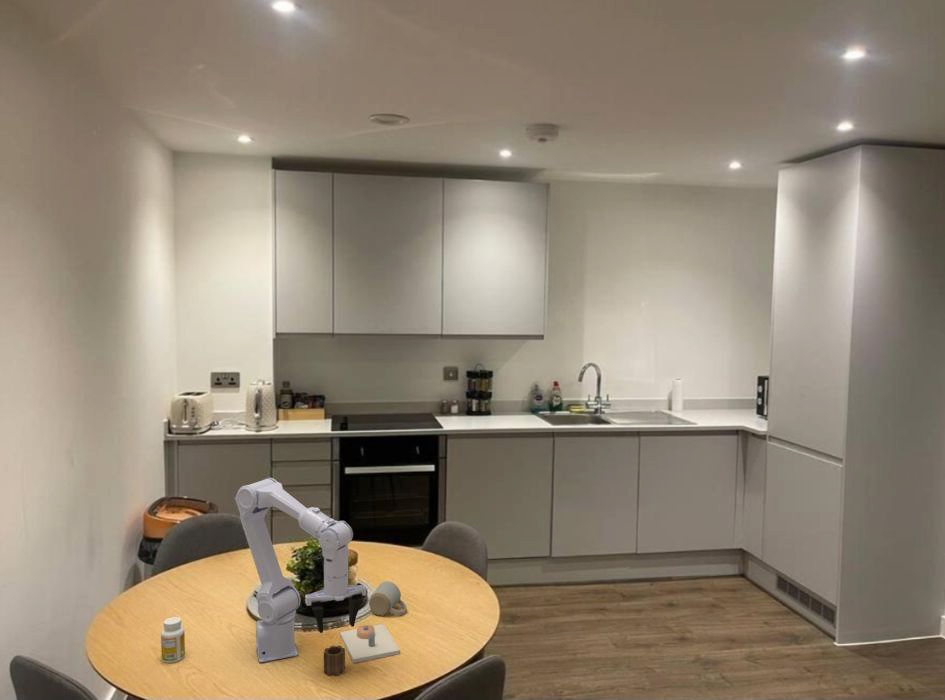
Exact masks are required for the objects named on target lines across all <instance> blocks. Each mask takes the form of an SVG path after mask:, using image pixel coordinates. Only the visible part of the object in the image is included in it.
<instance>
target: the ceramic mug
mask: <svg viewBox="0 0 945 700" xmlns="http://www.w3.org/2000/svg"><path fill="white" fill-rule="evenodd" d="M401 596H402V595H401V590H400V588H399V587H398V586H397V585H396V584H395V583H394V582H392V581H383V582H381V583H379V585H378V586H377V587H376V589H375V590H374V591H373V592H372V594H371V595H370V597H369V600H368V604H369V605H368V606H369V608H370V610H371V612H372V613H374V614H375V615H377V616H386V615H387V614H388V613H391V614H393V615H395V616H403V615H404V614H405V612H407V604H406V603H405V602H404V601H403V600H402V599H401ZM397 605H399V606H401V607H402V609H403V610H397V609H395V607H396V606H397Z"/></svg>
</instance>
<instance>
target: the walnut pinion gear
mask: <svg viewBox="0 0 945 700" xmlns="http://www.w3.org/2000/svg"><path fill="white" fill-rule="evenodd" d="M345 670H346V647H342V646H341V645H337V646H336V645H330V646H329V647H325V649H324V651H323V674H326V675H327V676H329V677H332V676H335V677H336V676H339V675H340V674H344V673H345Z"/></svg>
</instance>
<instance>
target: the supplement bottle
mask: <svg viewBox="0 0 945 700" xmlns="http://www.w3.org/2000/svg"><path fill="white" fill-rule="evenodd" d="M185 641H186V640H185V628H184V626H182V618H181V617H178V616H173V617H169V618H166V619H165V620H164V621H163V629H162V630H161V632H160V642H161V643H160V646H161V649H160V650H161V652H160V653H161V660H162V662H163V663H166V664H171V663H177V662H179V661H181V660H183V659H184V657H186V656H185V655H186V644H185V643H186V642H185Z"/></svg>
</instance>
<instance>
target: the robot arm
mask: <svg viewBox="0 0 945 700" xmlns="http://www.w3.org/2000/svg"><path fill="white" fill-rule="evenodd" d="M234 500H235V503H236V506H237V508H238V512H239V519H240V522H241V525H242V529H243V532H244V534H245V538H246V541H247V544H248V548H249V550H250V553H251V556H252V559H253V563H254V565H255V568H256V571H257V575H258V578H259V581H260V583H261V586H260V589H259V590H258V592H257V594H256V596H255V598H256V601H257V612H258V615H259V618H260V620H257V621H256V623H255V651H256V654H257V660H258V663H259V664H260V663H265V662H271V661H276V660H281V659H286V658H287V659H288V658H292V657H297V656H299V652H298V648H297V646H296V643H295V615H296V614H297V609H298V608H299V607H300V604H301V595H300V593H299V591H298V590H297V589H296V587H295V585H294V582H293V580H291V579H290V578H288V577H285V576H284V575H283V572H282V569H281V567H280V566H281V565H280V563H279V560H278V558H277V554H276V551H275V549H274V546H273V542H272V539H271V535H270V533H269V530H268V527H267V523H266V521H265V516H266V514H267V512H268V511H269V509H271V508H272V507H274V508H277V509H279V510H280V511H281V512H283V513H285V514H287V515H289V516H290V517H292V518H294V519H295V520H297V522H298V527H299V528H300V529H302V530H303V531H305V532H306V533H308V534H309V535H310V536H312V537H313V538H315V539H316V540H318V545H319V546H320V548H321V551H322V552H321V553H322V556H323V589H320V590H318V591H315V592H312V593H309V594H305V596H304V601H305V602H304V603H305V605H306V606H310V607H311V609H312V612H313V614H314V616H315V621H316V625H317V630H318V632H319V634H323V633H324V623H323V621H324V610H325V609H324V607H323V602H324V603H325V602H330V601H336V602H339V601H344V600H345V599H346V598H348V608H349V610H348V623H349V625H350V626H351V627H352V628H353V627H355V624H356V619H357V616H358V613H359V611H360V608H361V606H362V605H363V603H364V598H363V596H367V586H366V585H365V584H360V585H359V584H358V585H357V584H356V585H349V544H350V543H351V542H352V540H353V538H354V532H353V529H352V527H351V526H350V525H349V523H347V521H345V520H339V521H338V520H335V519H333V518H331V517H329V516H328V515H326V514H325V513H323V512H322V511H321V509H320V508H319V507H314V506H311V507H308V508H307V507H306V506H305V505H304V504H302V503H301V502H299V501H298V500H297V499H296V498H295V497H293V496H292V495H291V493H290V494H289V493H288V492H287V491H286V490H285V489H284V487H283V484H282V483H281V482H280V481H279V482H278V481H277V480H276V479H275V478H272V477H267V478H264V479H262V480H259V481H256V482H254V483H251V484H247V485H242V486H241V487H240V488H239V489H238V490H237V493H236V495H235V497H234Z"/></svg>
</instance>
